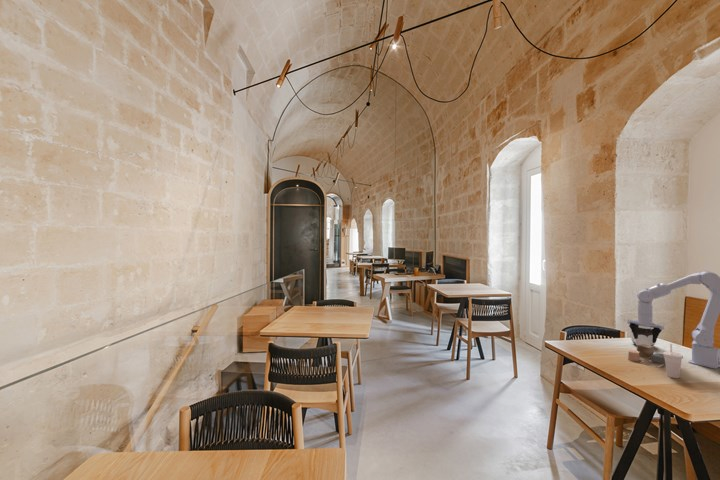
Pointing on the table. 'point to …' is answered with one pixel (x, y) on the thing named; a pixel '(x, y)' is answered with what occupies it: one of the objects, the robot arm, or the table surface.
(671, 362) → the smoothie
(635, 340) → the spread jar
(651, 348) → the walnut cube
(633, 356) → the terracotta cube
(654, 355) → the plinth
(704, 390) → the table surface
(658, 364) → the swatch
